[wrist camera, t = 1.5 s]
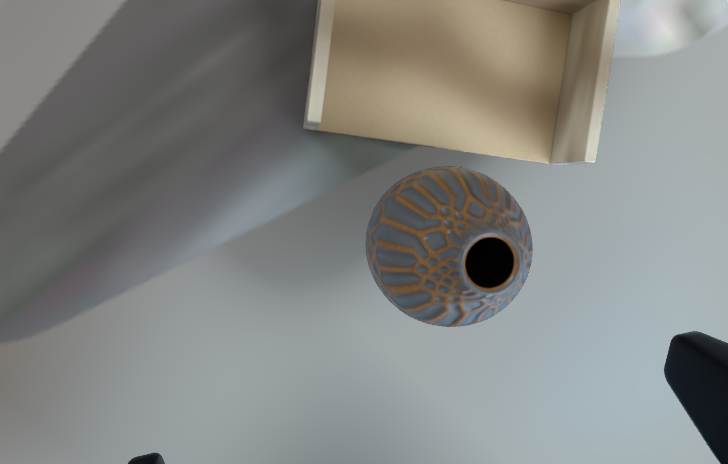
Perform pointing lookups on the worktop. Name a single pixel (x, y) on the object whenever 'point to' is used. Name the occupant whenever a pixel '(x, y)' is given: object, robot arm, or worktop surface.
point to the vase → (449, 246)
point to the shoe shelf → (465, 74)
